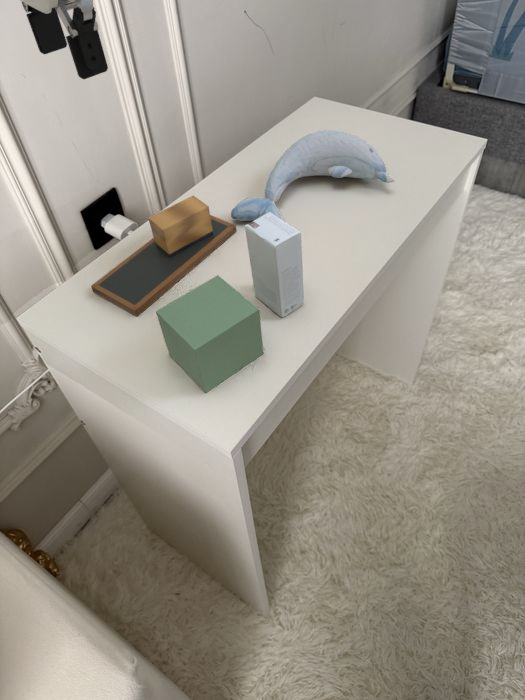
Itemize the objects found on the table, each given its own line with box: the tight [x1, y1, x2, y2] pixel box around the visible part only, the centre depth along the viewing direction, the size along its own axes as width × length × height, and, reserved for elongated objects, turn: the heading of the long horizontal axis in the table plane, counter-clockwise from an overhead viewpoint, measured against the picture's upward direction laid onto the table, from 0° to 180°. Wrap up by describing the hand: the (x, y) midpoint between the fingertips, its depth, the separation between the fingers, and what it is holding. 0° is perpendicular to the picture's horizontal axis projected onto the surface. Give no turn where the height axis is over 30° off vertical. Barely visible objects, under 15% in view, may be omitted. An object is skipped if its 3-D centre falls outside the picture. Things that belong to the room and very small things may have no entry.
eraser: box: [147, 194, 213, 257], centre depth 78 cm, size 8×4×5 cm, turn 130°
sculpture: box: [230, 129, 395, 223], centre depth 84 cm, size 18×8×25 cm
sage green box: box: [155, 274, 264, 394], centre depth 63 cm, size 9×8×8 cm
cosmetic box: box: [244, 212, 305, 318], centre depth 67 cm, size 6×4×12 cm
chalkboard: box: [90, 214, 237, 317], centre depth 78 cm, size 22×9×1 cm, turn 144°
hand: (73, 61), depth 57 cm, fingers open, 9 cm apart
